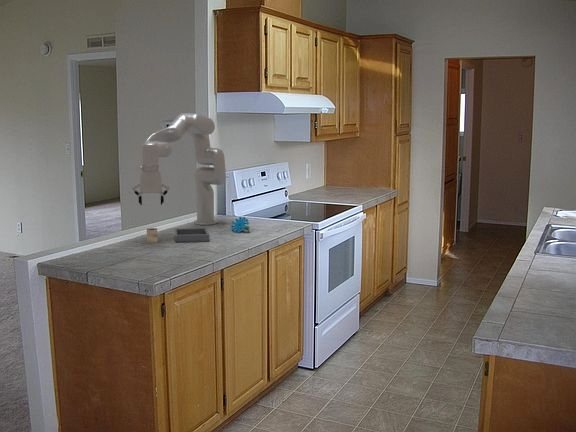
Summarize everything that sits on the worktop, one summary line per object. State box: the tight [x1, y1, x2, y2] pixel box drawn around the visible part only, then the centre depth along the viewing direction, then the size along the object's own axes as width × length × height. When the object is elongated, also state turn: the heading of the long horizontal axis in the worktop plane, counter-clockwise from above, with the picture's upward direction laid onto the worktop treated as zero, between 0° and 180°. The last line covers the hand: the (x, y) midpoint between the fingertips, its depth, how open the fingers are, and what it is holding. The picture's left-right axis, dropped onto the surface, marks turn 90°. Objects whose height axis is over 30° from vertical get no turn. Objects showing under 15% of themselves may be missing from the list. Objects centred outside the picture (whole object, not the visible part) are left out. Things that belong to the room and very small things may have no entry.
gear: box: [230, 216, 251, 234], centre depth 327 cm, size 11×6×10 cm
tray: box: [174, 227, 210, 244], centre depth 307 cm, size 16×16×4 cm
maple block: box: [146, 227, 159, 243], centre depth 300 cm, size 5×5×6 cm
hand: (151, 204), depth 298 cm, fingers open, 9 cm apart
